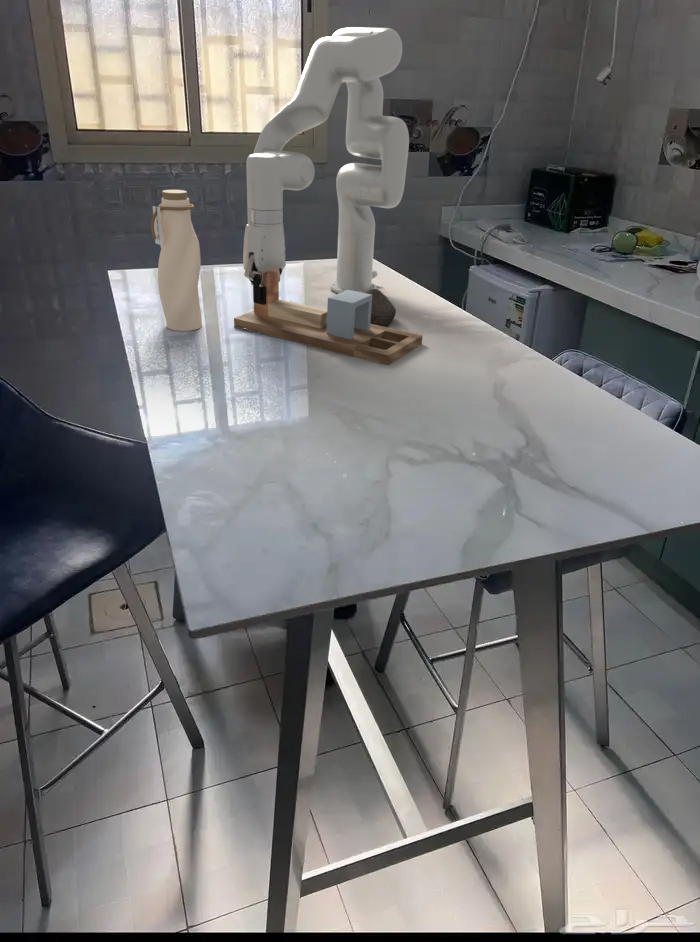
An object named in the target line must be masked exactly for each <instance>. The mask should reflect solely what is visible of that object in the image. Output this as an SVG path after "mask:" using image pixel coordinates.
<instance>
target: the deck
mask: <svg viewBox="0 0 700 942" xmlns="http://www.w3.org/2000/svg"><path fill="white" fill-rule="evenodd" d="M233 327H234V328H238V329H241V328H246V329H248V330H247V331H249V330H251V331H250V332H253V331H255V332H254V333H257V332H260V333H259V334H261V333H262V335H266V336H269V337H270V336H271V337H272V338H273V337H274V338H277V339H282V340H286V341H289V342H294V343H299V344H302V345H306V346H310V347H315V348H318V349H322V350H326V351H330V352H334V353H337V354H342V355H346V356H350V357H354V358H357V359H358V358H359V359H363V360H367V361H370V362H375V363H378V364H383V365H386V366H389V365H391V364H392V363H394V362H395V361H397V360H399V359H400V358H402V357H403V356H405V355H406V354H408V353H410V352H411V351H413V350H414V349H416V348H418V347H420V346H421V345H422V344H423V335H422V334H418V333H413V332H410V331H405V330H400V329H395V328H392V327H388V326H387V327H383V326H378V325H375V324H374V323H370V330H368V331H365V330H361V329H357V328H354V338H353V339H347V338H343V337H339V336H334V335H330V334H327V326H324V327H322V328H317V327H312V326H308V325H304V324H299V323H295V322H291V321H287V320H282V319H278V318H274V317H270V316H265V315H261V314H257V313H254V310H253V311H250V312H247V313H244V314H241V315H239V316H236V317H234V318H233Z"/></svg>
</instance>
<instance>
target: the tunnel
mask: <svg viewBox="0 0 700 942" xmlns="http://www.w3.org/2000/svg"><path fill="white" fill-rule="evenodd" d="M371 306H372V295H371V294H366V293H361V292H357V291H352V290H346V291H344V292H341V293H336V294H334V295H332V296H329V297H327V309H326V310H327V334H330V335H334V336H339V337H343V338H347V339H353V338H354V328H357V329H361V330H365V331H368V330H370V324H371V323H372V322H371Z"/></svg>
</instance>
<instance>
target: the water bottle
mask: <svg viewBox="0 0 700 942" xmlns="http://www.w3.org/2000/svg"><path fill="white" fill-rule="evenodd" d="M161 192H162V197H161V203H160V204H158V205H157V206H156V205H155V206H154V205H153V206H152V217H151V222H150V230H151V234H152V238H153V240H154V241H155V242H154V243H155V244H156V245H159V246H160V253H159V257H158V264H157V265H158V267H157V285H158V293H159V294H158V295H159V299H160V303H161V307H162V310H163V314H164V318H165V323H166V324H165V325H166V327H167V328H168V329H169V330H172V331H177V332H178V331H179V332H186V331H187V332H188V331H189V332H190V331H196V330H197V329H200V328H201V327H202V326H203V319H202V311H201V310H202V309H201V305H200V296H199V295H200V294H199V280H200V274H201V264H202V263H201V249H200V241H199V239H198V237H197V234H196V231H195V228H194V226H193V223H192V218H191V217H192V216H191V215H192V214H191V210H193V209H195V205H194V204H193V203H190V198H189V197H188V192H187V191H186V190H183V189H164V190H162V191H161Z"/></svg>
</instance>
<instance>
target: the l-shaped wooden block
mask: <svg viewBox="0 0 700 942" xmlns="http://www.w3.org/2000/svg"><path fill="white" fill-rule="evenodd" d="M257 276H258V278H259V279H260V275H258V274H257ZM278 283H279V282H278V268H277V269H274V270H271V271H268V272H266V273H265V282H264V287H266V304H265V305H262V304H258V303H254V302H253V311H254V313H257V314H261V315H265V316H270V317H274V318H278V319H282V320H287V321H291V322H295V323H299V324H304V325H308V326H312V327H317V328H322V327H324V326H327V309H324V308H320V307H315V306H310V305H306V304H303V303H302V304H301V303H297V302H292V301H288V300H283V299H280V298H279V299H278Z"/></svg>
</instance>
